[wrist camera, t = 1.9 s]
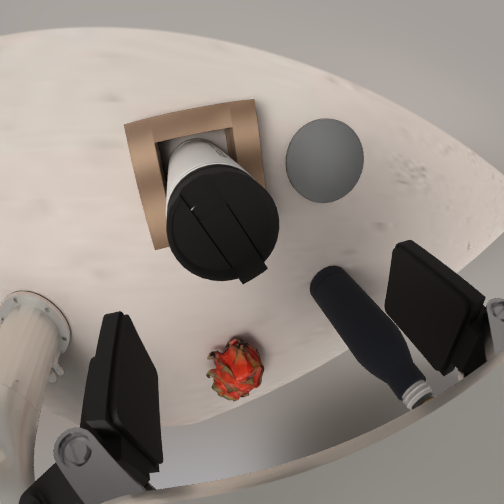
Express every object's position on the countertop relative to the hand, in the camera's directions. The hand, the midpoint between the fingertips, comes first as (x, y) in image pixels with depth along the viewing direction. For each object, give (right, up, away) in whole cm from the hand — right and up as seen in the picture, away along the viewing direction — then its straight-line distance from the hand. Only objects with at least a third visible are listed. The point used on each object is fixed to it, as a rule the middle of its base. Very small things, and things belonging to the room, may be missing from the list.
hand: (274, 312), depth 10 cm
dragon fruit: (-4, -14, +38) cm, 41 cm away
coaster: (+9, +14, +27) cm, 31 cm away
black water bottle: (+11, -3, +36) cm, 38 cm away
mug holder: (-7, +12, +23) cm, 27 cm away
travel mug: (-7, +12, +23) cm, 27 cm away
